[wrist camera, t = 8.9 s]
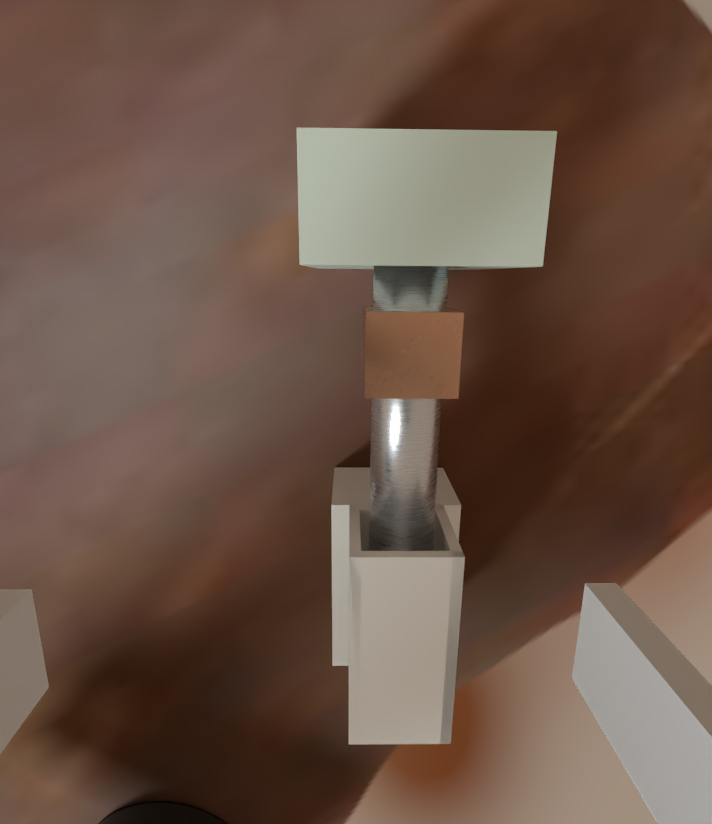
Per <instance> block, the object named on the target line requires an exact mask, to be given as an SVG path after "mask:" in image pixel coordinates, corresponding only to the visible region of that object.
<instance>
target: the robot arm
mask: <svg viewBox="0 0 712 824" xmlns="http://www.w3.org/2000/svg"><path fill="white" fill-rule="evenodd" d="M572 679H573V681H574V683H575V685H576V686H577V688H578V690H579V691H580V693H581V695H582V697H583V698H584V700H585V702H586V703H587V705H588V707H589V709H590V710H591V712H592V714H593V715H594V717H595V719H596V720H597V722H598V724H599V725H600V727H601V729H602V731H603V732H604V734H605V736H606V737H607V739H608V741H609V742H610V744H611V746H612V748H613V749H614V751H615V753H616V754H617V756H618V757H619V759H620V761H621V763H622V764H623V766H624V768H625V769H626V771H627V773H628V775H629V776H630V778H631V780H632V781H633V783H634V785H635V786H636V788H637V790H638V791H639V793H640V795H641V796H642V798H643V800H644V802H645V803H646V805H647V807H648V809H649V810H650V812H651V814H652V815H653V817H654V819H655V820H656V822H657V824H712V686H711V685H710V683H709V682H708V681H707V680H706V679H705V678H704V677H703V676H702V675H701V674H700V673H699V672H698V671H697V669H696V668H695V667H694V666H693V665H692V664H691V663H690V662H689V661H688V660H687V659H686V658H685V656H684V655H683V654H682V653H681V652H680V651H679V650H678V649H677V648H676V647H675V646H674V645H673V644H672V642H671V641H669V639H668V638H667V637H666V636H665V635H664V634H663V633H662V632H661V631H660V630H659V629H658V627H657V626H656V625H655V624H654V623H653V622H652V621H651V620H650V619H649V618H648V617H647V616H646V615H645V614H644V613H643V611H642V610H641V609H640V608H639V607H638V606H637V605H636V604H635V603H634V602H633V601H632V600H631V598H630V597H629V596H628V595H627V594H626V593H625V592H624V591H623V590H622V589H621V588H620V587H619V585H618V584H617V583H585V588H584V595H583V602H582V609H581V616H580V623H579V631H578V638H577V645H576V652H575V659H574V666H573V673H572ZM48 688H49V684H48V679H47V673H46V668H45V662H44V656H43V651H42V645H41V640H40V634H39V628H38V623H37V617H36V612H35V606H34V600H33V595H32V589H21V590H0V754H1V752H2V751H3V750H4V748H5V747H6V746H7V744H8V743H9V741H10V740H11V739H12V737H13V736H14V735H15V733H16V732H17V731H18V729H19V728H20V726H21V725H22V724H23V722H24V721H25V720H26V718H27V717H28V715H29V714H30V713H31V711H32V710H33V709H34V707H35V706H36V704H37V703H38V702H39V700H40V699H41V698H42V696H43V695H44V693H45V692H46V691H47V689H48ZM100 824H224V823H223V822H221V821H220V820H218V819H217V818H215V817H214V816H212V815H210V814H208V813H206V812H203V811H201V810H198V809H196V808H192V807H189V806H185V805H180V804H173V803H146V804H139V805H135V806H131V807H128V808H125V809H122V810H120V811H117V812H116V813H114V814H112V815H110V816H109V817H107V818H106V819H104V820H103V821H102V822H101V823H100Z"/></svg>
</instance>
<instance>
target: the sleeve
mask: <svg viewBox="0 0 712 824" xmlns="http://www.w3.org/2000/svg"><path fill="white" fill-rule="evenodd" d="M369 507H370V467H334V478H333V491H332V504H331V514H332V666H349V744H450V743H451V732H452V719H453V706H454V693H455V680H456V667H457V654H458V641H459V628H460V615H461V603H462V590H463V577H464V564H465V556H464V554H463V551H462V549H461V546H460V544H459V529H460V515H461V504H460V502H459V500H458V498H457V495H456V493H455V491H454V489H453V487H452V485H451V483H450V481H449V479H448V477H447V475H446V473H445V471H444V469H443V468H437V485H436V503H435V521H434V538H433V551H369Z"/></svg>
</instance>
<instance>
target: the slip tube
mask: <svg viewBox="0 0 712 824" xmlns="http://www.w3.org/2000/svg"><path fill="white" fill-rule="evenodd" d="M448 274H449V266H374V272H373V306H363V386H364V394H365V398H367V399H371V448H370V507H369V551H433V538H434V521H435V503H436V485H437V468H438V450H439V432H440V415H441V399H458V397H459V382H460V367H461V352H462V337H463V322H464V312H461V311H458V310H455V309H451V308H448V307H447V292H448Z"/></svg>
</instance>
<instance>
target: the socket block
mask: <svg viewBox="0 0 712 824" xmlns="http://www.w3.org/2000/svg"><path fill="white" fill-rule="evenodd" d="M556 138H557V131H514V130H439V129H363V128H297V165H298V211H299V256H300V265H304V266H308V267H313V268H317V269H374V266H449V270H481V269H503V268H525V267H543V260H544V250H545V241H546V232H547V222H548V213H549V203H550V194H551V185H552V175H553V166H554V156H555V147H556Z"/></svg>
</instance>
